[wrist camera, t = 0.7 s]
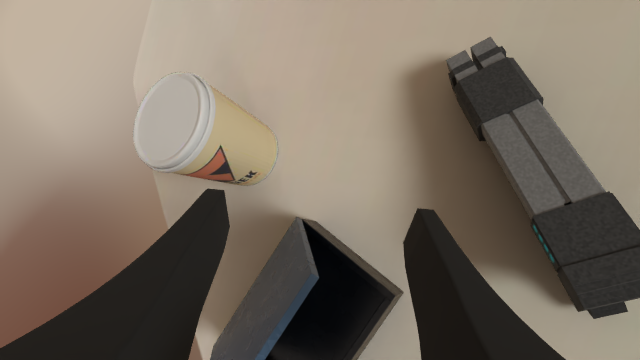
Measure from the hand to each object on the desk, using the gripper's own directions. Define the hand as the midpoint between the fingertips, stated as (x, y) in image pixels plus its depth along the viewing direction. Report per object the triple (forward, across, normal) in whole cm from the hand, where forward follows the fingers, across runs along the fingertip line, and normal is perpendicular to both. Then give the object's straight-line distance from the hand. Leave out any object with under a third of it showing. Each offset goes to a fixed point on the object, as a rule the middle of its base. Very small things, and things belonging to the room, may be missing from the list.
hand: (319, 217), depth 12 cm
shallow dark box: (+6, -1, +22) cm, 22 cm away
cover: (+3, +4, +16) cm, 17 cm away
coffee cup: (+22, +8, +15) cm, 28 cm away
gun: (+12, -17, +6) cm, 21 cm away
